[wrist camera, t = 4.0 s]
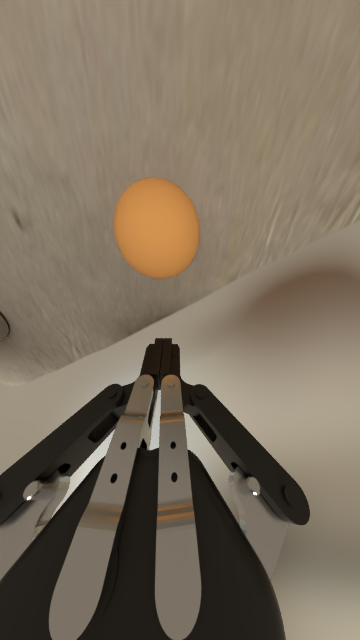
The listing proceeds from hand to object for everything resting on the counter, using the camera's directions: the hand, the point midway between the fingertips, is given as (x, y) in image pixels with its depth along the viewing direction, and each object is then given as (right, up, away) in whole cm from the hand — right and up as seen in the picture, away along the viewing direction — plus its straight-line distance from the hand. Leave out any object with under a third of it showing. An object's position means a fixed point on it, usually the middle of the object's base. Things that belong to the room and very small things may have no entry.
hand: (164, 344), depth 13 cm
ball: (0, +8, -3) cm, 9 cm away
